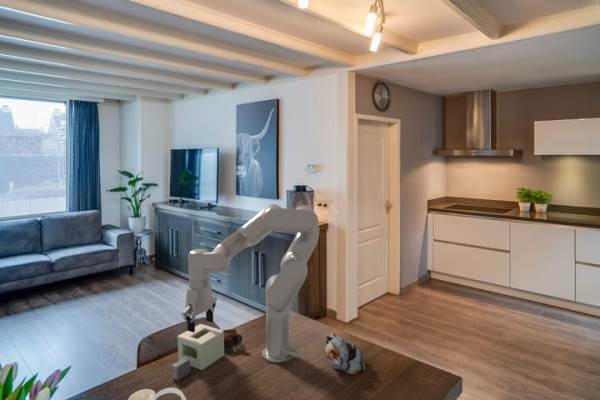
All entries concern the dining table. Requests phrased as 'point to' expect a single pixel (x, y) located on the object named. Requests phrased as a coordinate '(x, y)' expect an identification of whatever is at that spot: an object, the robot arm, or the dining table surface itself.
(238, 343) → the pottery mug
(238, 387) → the dining table surface
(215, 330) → the cream slotted box
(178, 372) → the block
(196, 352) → the block
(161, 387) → the dining table surface
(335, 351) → the lucky cat figurine
